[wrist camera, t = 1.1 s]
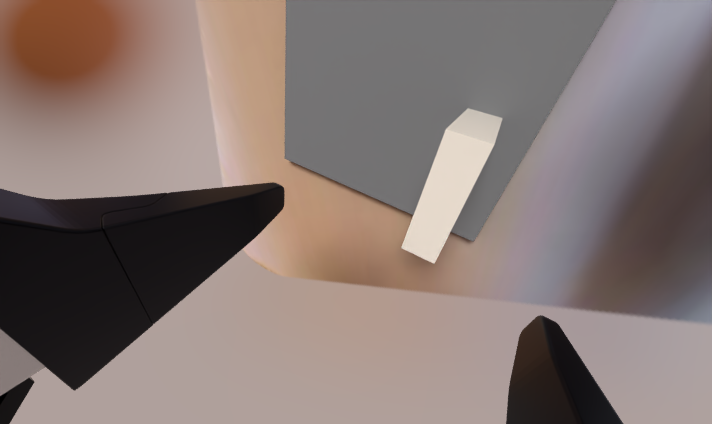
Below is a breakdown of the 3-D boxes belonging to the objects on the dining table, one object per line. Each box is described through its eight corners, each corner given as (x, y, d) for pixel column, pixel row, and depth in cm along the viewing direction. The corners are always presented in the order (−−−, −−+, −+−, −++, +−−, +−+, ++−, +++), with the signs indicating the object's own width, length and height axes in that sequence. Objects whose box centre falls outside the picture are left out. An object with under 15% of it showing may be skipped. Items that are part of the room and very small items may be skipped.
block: (467, 108, 15) (446, 129, 11) (502, 118, 15) (494, 144, 10) (429, 203, 20) (401, 247, 15) (455, 214, 19) (434, 263, 14)
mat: (627, -25, 11) (633, -30, 10) (475, 236, 20) (473, 241, 19) (295, -60, 17) (286, -65, 16) (290, 156, 25) (284, 158, 25)
